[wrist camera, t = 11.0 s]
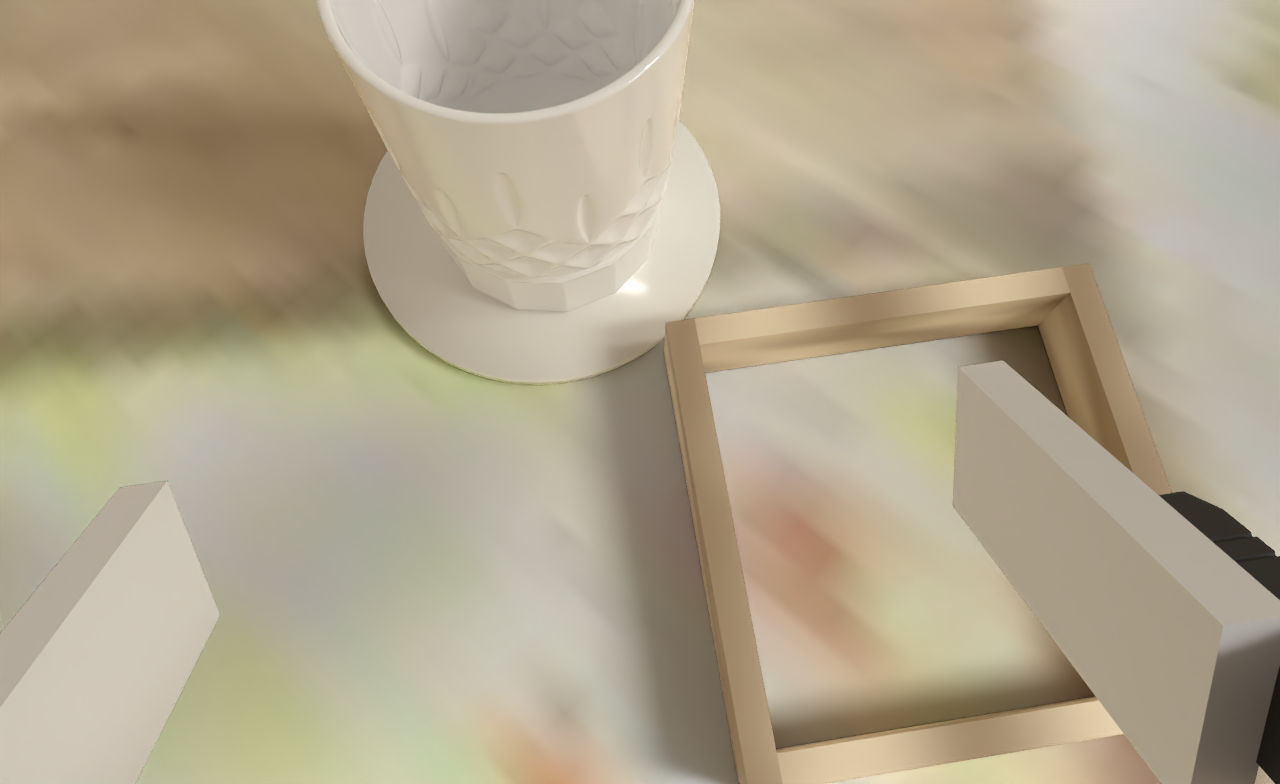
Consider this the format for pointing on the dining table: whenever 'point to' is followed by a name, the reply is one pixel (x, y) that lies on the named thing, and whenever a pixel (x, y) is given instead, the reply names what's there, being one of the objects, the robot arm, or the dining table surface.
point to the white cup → (526, 130)
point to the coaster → (532, 339)
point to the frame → (871, 321)
